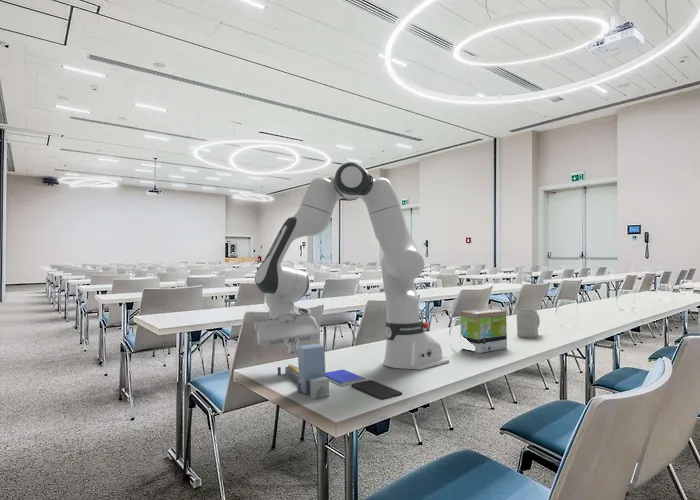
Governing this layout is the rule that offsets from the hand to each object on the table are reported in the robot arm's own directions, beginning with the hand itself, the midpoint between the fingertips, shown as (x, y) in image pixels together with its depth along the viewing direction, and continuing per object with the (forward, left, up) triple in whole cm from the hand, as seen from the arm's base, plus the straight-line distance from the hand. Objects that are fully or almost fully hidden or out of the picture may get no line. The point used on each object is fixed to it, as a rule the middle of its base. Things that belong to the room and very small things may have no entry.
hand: (293, 352), depth 129 cm
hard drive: (-12, +11, -8) cm, 18 cm away
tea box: (-75, +2, -8) cm, 75 cm away
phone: (-15, +25, -8) cm, 31 cm away
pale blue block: (0, +16, -7) cm, 18 cm away
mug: (-111, -8, -7) cm, 111 cm away
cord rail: (0, +8, -7) cm, 11 cm away
